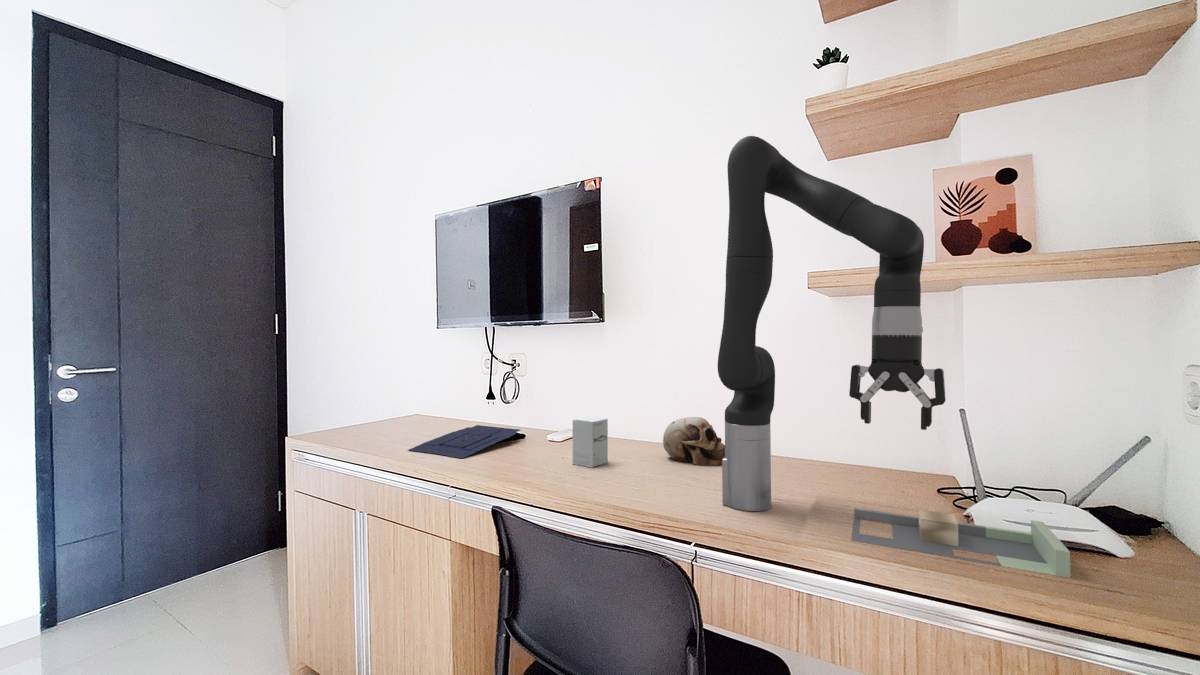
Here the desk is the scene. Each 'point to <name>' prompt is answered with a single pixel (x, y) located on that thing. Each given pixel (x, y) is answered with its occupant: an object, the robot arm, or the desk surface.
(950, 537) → the maple block
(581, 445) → the supplement box
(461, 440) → the navy blue folder
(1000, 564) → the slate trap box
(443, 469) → the desk surface
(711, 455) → the human skull
